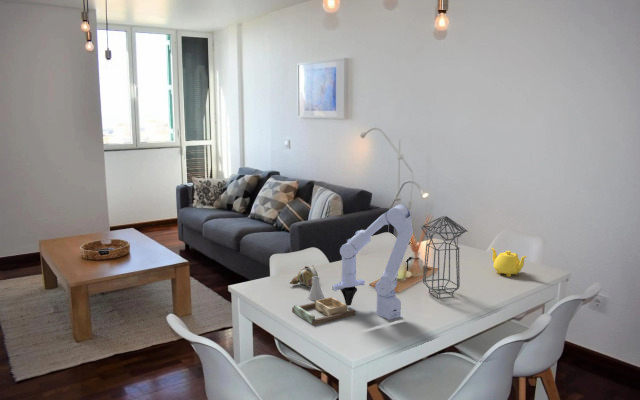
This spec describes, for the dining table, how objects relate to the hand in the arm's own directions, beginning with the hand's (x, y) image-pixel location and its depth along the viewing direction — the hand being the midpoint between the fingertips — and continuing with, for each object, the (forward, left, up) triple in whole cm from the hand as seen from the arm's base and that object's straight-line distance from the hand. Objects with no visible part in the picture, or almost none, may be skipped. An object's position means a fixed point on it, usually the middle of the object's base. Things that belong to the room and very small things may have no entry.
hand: (348, 304), depth 215 cm
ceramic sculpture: (+36, -2, -2) cm, 36 cm away
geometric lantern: (-7, -45, -2) cm, 45 cm away
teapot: (-2, -96, -2) cm, 96 cm away
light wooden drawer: (0, +8, -1) cm, 8 cm away
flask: (+16, +5, -2) cm, 17 cm away
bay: (0, +12, -2) cm, 12 cm away
